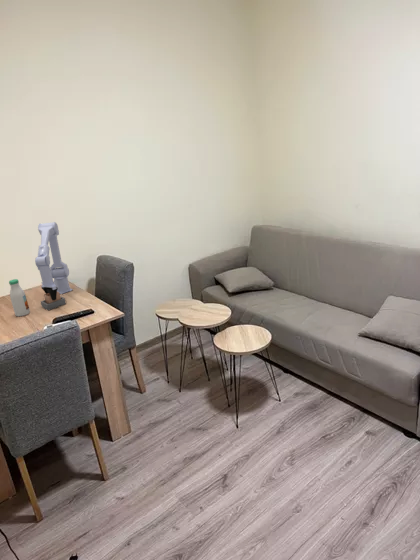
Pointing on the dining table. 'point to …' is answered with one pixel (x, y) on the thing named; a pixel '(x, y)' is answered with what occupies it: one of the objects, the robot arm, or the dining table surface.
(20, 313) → the milk bottle
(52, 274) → the robot arm
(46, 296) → the small crate
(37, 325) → the dining table surface
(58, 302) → the large crate
